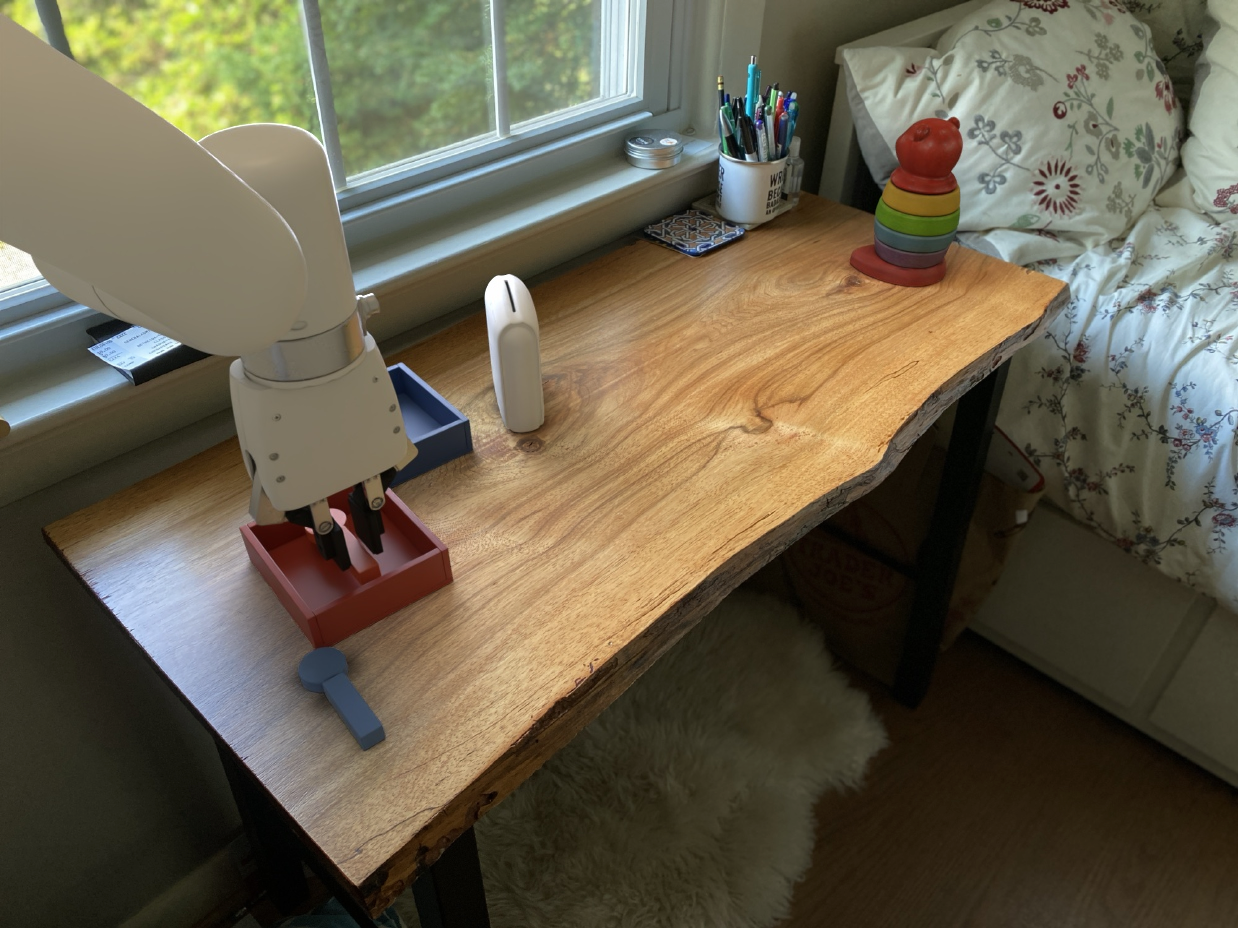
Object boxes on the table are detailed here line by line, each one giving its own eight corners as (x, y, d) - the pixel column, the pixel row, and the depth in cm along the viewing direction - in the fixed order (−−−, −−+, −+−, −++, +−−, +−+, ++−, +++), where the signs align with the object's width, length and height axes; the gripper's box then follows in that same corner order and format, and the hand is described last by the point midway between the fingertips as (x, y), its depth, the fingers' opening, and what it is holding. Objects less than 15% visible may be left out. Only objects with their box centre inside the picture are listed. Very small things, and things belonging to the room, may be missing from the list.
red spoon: (391, 572, 69) (388, 558, 68) (352, 592, 68) (348, 578, 67) (337, 512, 75) (334, 498, 74) (300, 529, 73) (296, 515, 72)
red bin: (317, 653, 66) (307, 620, 64) (249, 560, 73) (238, 527, 71) (453, 581, 71) (448, 548, 69) (378, 501, 79) (371, 468, 77)
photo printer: (490, 377, 94) (478, 265, 86) (532, 372, 94) (524, 260, 87) (502, 437, 86) (491, 319, 78) (549, 431, 87) (542, 314, 79)
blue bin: (360, 502, 79) (353, 469, 77) (299, 435, 86) (291, 404, 84) (473, 450, 84) (469, 419, 82) (406, 392, 92) (401, 362, 90)
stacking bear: (912, 243, 118) (942, 98, 106) (968, 277, 110) (1006, 125, 99) (841, 260, 114) (865, 112, 103) (894, 296, 107) (926, 141, 96)
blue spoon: (397, 731, 61) (394, 718, 60) (352, 758, 59) (348, 745, 58) (335, 648, 66) (332, 635, 65) (293, 671, 65) (288, 658, 64)
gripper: (386, 276, 64) (422, 483, 75) (149, 355, 56) (230, 572, 67) (443, 319, 59) (472, 532, 71) (194, 410, 51) (272, 633, 63)
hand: (354, 550), depth 69 cm, fingers closed
